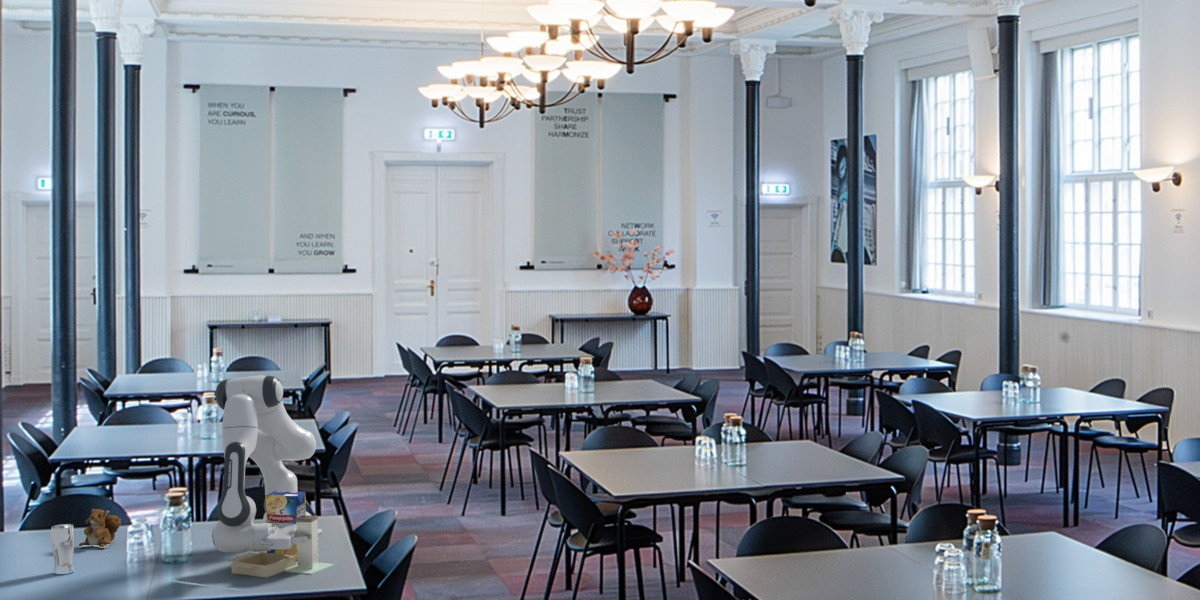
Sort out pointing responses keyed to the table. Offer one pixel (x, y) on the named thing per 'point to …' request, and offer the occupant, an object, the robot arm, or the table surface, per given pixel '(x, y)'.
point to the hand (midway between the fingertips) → (309, 535)
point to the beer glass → (63, 547)
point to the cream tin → (308, 550)
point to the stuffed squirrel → (101, 528)
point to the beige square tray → (261, 564)
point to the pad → (309, 571)
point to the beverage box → (285, 513)
